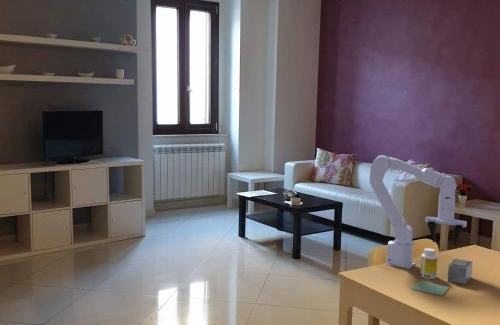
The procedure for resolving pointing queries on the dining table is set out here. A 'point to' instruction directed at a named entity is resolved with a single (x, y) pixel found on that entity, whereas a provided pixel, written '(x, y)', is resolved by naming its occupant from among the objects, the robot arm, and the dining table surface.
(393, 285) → the dining table surface
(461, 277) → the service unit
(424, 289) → the pad
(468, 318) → the dining table surface
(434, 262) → the supplement bottle
